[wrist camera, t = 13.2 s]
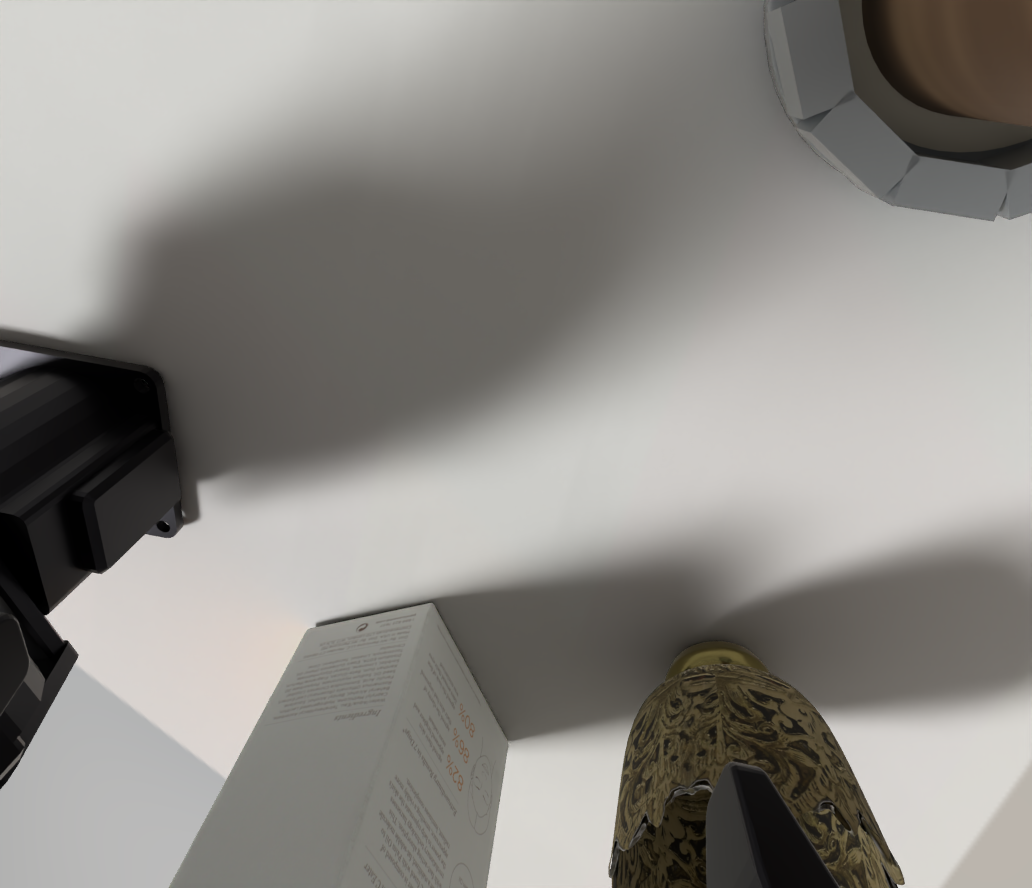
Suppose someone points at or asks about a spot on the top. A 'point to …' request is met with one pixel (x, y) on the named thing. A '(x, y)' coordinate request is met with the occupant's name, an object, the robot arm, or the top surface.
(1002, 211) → the ring
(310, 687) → the small box
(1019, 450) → the top surface
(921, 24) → the brown cylinder
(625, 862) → the ornate scalloped vase
